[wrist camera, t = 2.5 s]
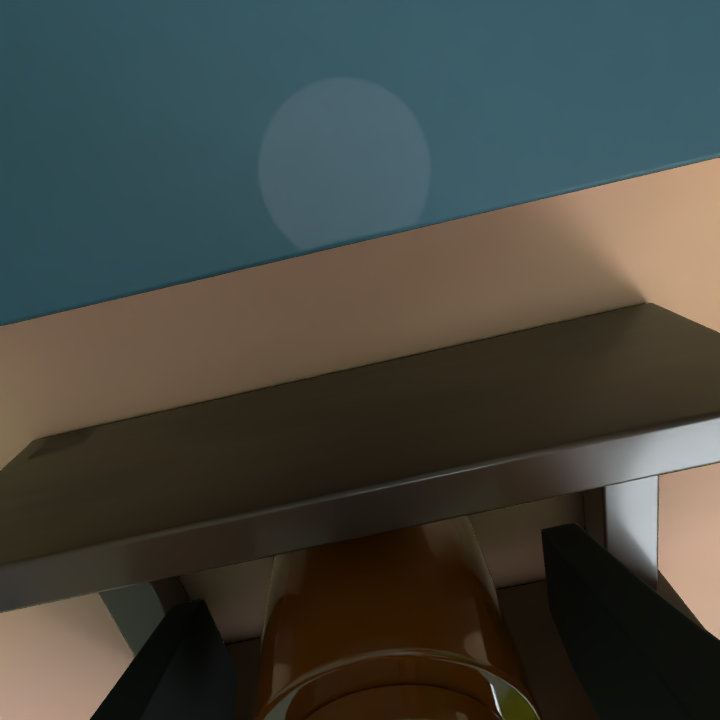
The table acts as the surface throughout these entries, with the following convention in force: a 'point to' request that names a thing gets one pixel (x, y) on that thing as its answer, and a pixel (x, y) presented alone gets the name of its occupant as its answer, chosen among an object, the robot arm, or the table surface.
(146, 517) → the shelf rack
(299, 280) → the table surface
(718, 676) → the robot arm
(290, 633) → the bottle
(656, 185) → the table surface
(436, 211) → the sill
